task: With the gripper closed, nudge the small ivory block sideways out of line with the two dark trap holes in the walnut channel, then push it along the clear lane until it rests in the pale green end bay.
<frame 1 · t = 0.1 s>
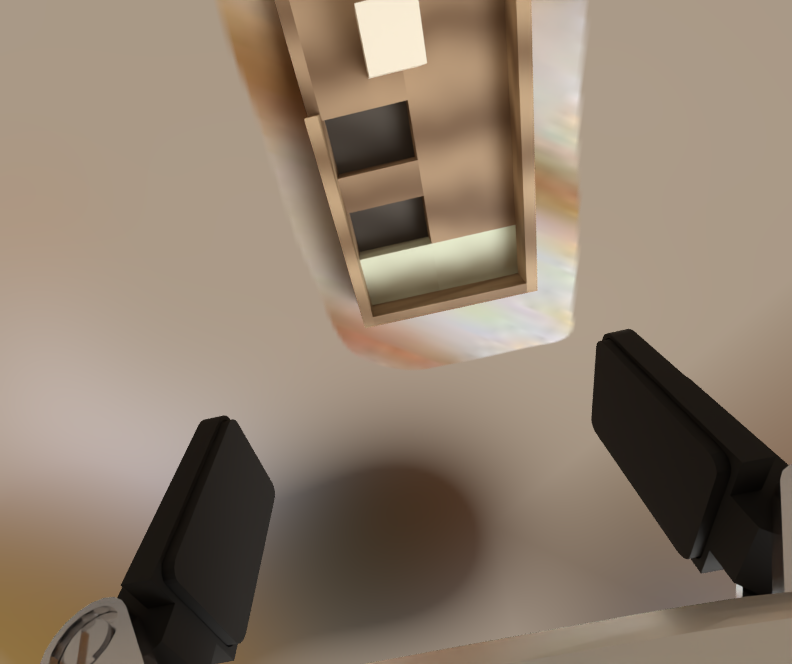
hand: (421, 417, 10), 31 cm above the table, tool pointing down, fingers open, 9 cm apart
ivory block: (388, 40, 29), point 2 cm above the table, touching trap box
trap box: (420, 160, 36), on the table
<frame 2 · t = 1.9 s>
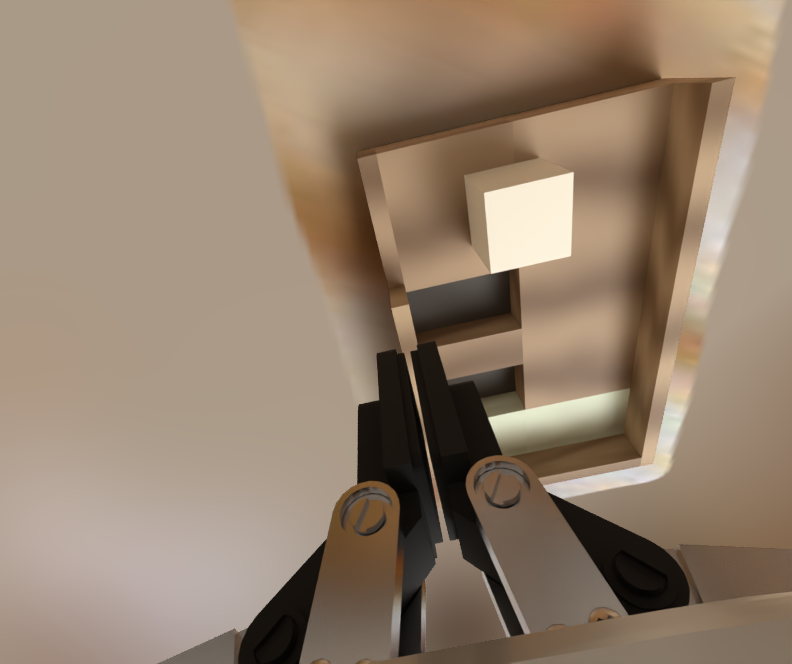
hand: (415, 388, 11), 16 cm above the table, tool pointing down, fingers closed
ivory block: (503, 204, 22), point 2 cm above the table, touching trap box
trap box: (517, 314, 29), on the table
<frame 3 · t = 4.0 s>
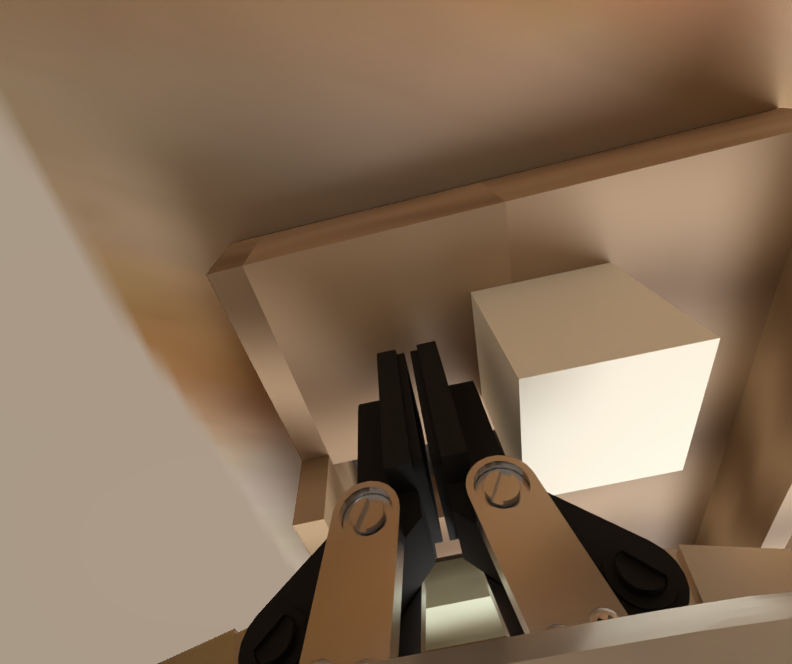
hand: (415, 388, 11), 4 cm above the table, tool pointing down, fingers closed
ivory block: (540, 335, 12), point 3 cm above the table, touching gripper
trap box: (519, 457, 19), on the table
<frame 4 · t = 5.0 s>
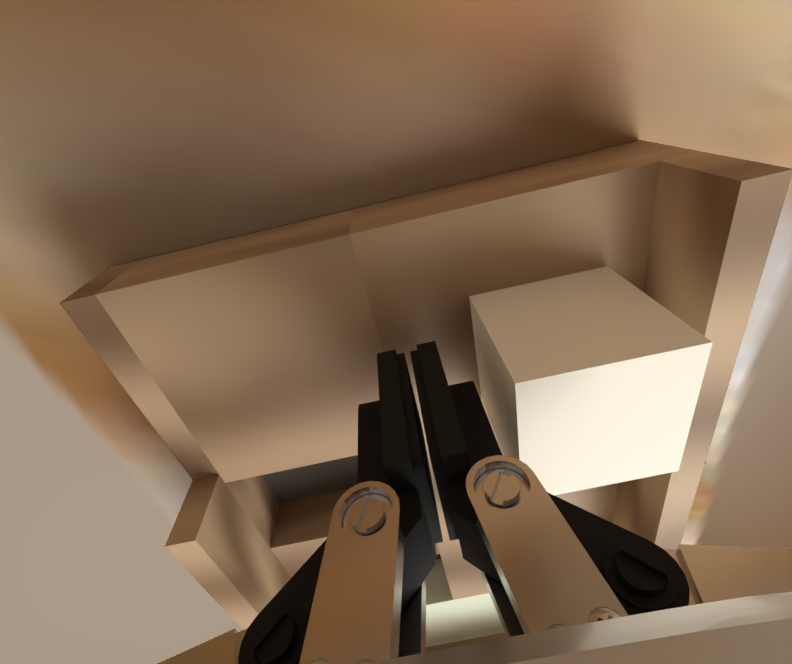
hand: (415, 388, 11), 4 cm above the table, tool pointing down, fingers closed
ivory block: (538, 338, 13), point 2 cm above the table, touching gripper, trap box
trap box: (433, 472, 19), on the table
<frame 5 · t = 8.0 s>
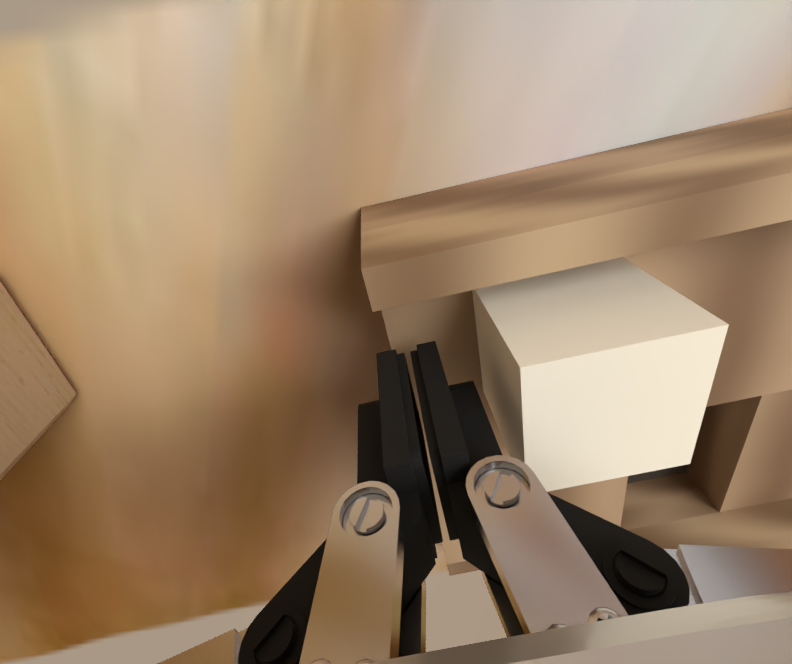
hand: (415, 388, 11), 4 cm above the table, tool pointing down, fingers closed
ivory block: (542, 328, 12), point 3 cm above the table, touching gripper
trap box: (725, 343, 16), on the table
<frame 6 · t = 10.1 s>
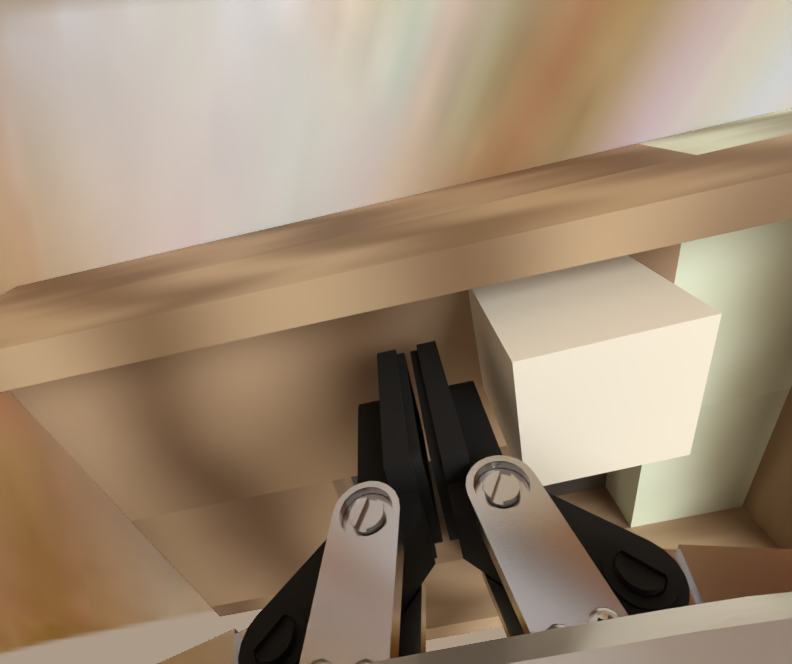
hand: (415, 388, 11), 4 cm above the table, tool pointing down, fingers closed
ivory block: (540, 322, 12), point 3 cm above the table, touching gripper
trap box: (447, 400, 17), on the table
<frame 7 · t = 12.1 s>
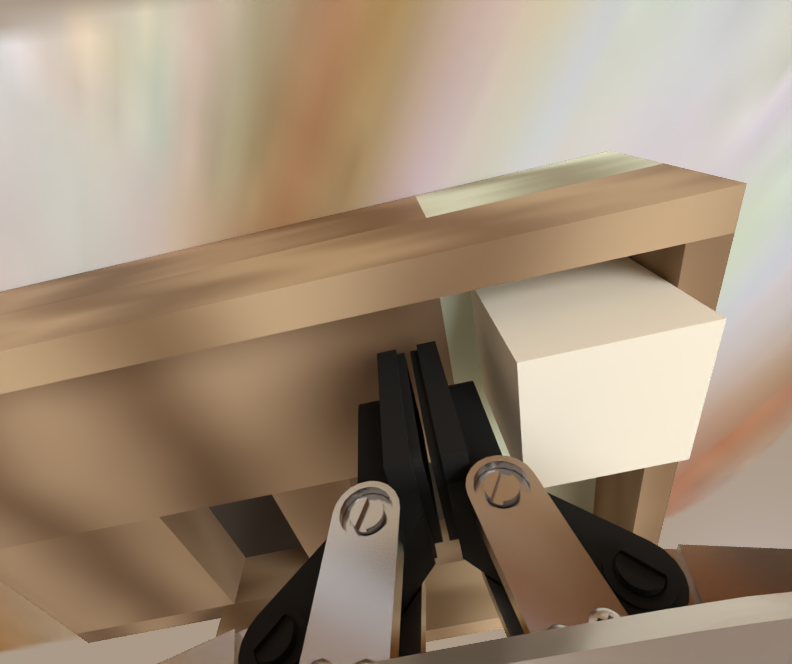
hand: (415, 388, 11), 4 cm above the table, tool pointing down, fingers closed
ivory block: (541, 324, 12), point 2 cm above the table, touching gripper, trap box
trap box: (290, 434, 17), on the table
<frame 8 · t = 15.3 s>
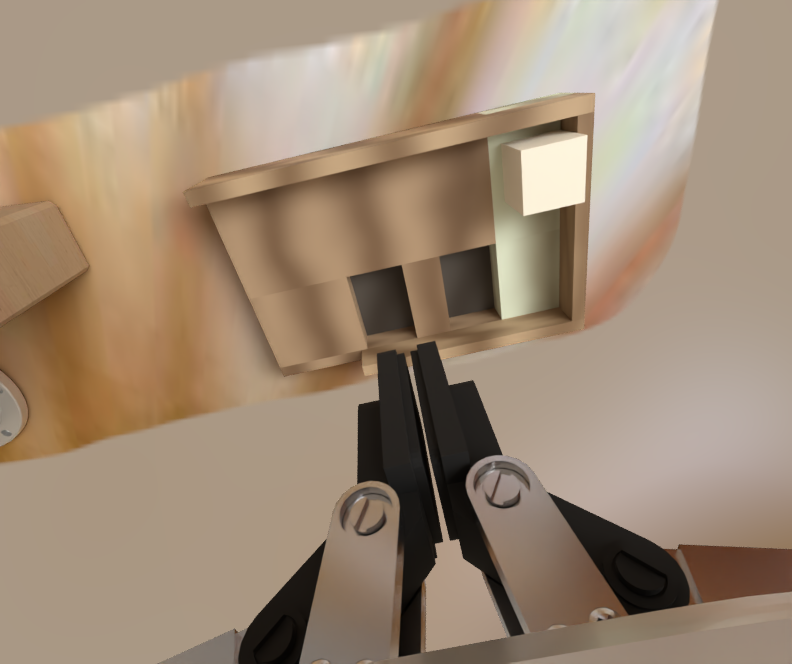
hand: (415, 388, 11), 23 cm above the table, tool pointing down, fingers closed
ivory block: (530, 167, 28), point 2 cm above the table, touching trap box
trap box: (403, 246, 33), on the table
decorative block: (6, 243, 31), on the table
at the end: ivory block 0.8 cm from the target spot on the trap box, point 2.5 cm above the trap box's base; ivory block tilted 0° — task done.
